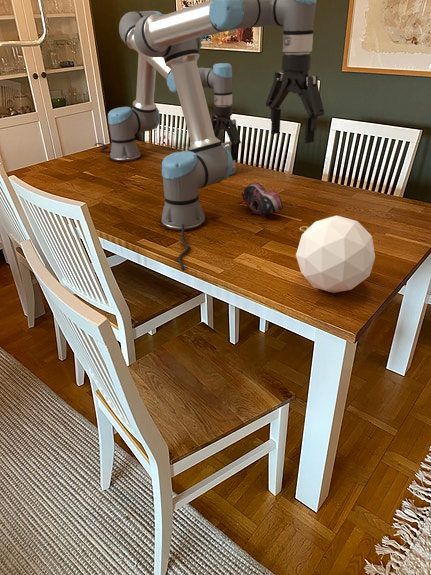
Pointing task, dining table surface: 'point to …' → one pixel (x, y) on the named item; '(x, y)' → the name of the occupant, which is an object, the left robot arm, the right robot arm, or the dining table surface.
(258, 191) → the athletic shoe
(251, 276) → the dining table surface
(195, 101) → the right robot arm
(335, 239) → the sphere
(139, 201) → the dining table surface
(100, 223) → the dining table surface
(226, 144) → the ink box
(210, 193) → the dining table surface
